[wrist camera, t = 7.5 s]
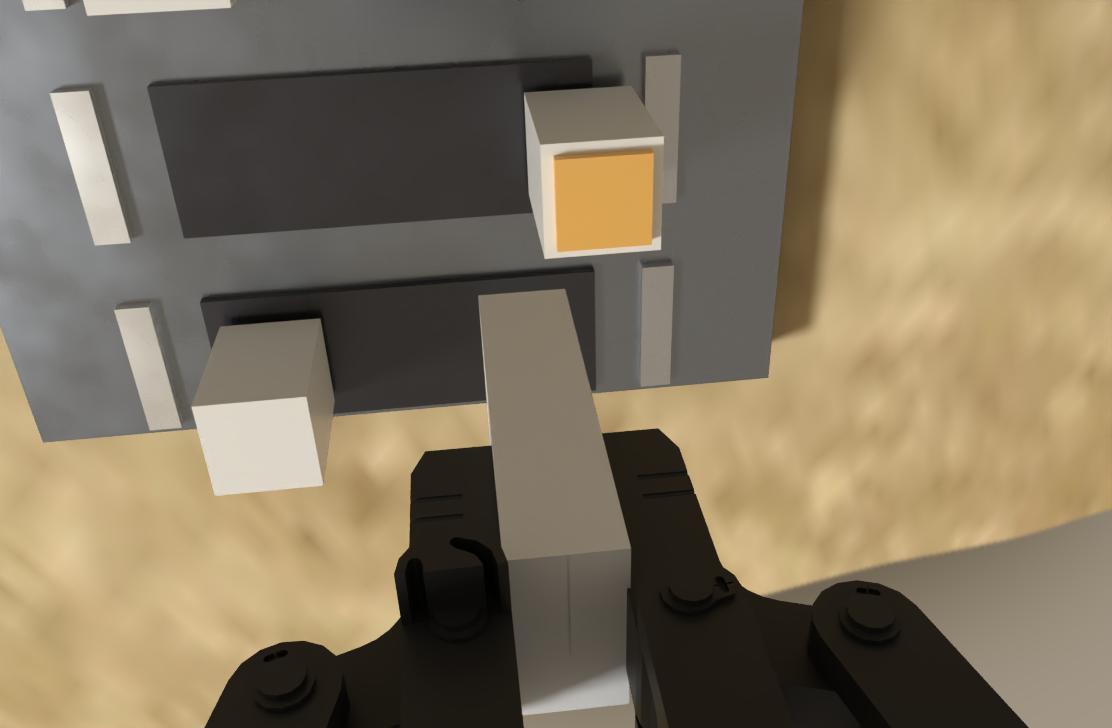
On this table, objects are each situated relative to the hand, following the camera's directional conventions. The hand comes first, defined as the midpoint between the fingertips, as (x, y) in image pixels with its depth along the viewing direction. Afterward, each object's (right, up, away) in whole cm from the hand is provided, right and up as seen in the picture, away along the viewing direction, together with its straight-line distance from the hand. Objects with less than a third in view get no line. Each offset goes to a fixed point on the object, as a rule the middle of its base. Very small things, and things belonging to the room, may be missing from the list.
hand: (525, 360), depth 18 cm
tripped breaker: (+1, +6, +11) cm, 12 cm away
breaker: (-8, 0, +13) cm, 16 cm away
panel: (-5, +7, +12) cm, 15 cm away
